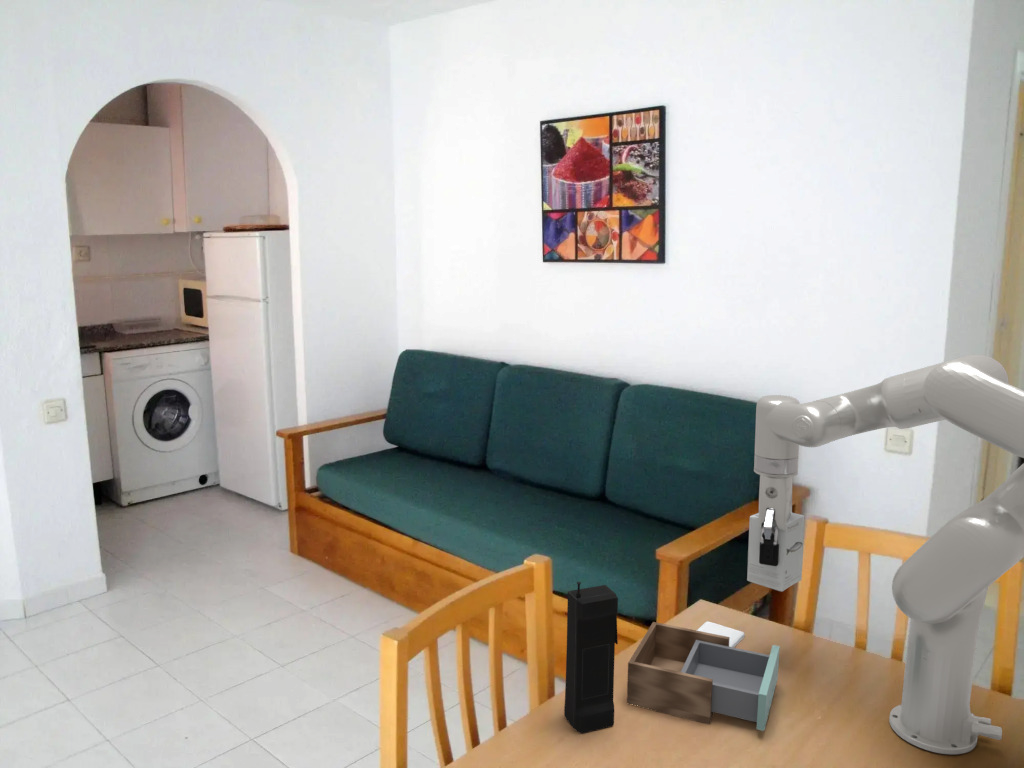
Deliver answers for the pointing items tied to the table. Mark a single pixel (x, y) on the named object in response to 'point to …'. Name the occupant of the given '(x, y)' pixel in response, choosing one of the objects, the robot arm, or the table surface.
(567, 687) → the portable radio
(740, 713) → the drawer
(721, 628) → the external hard drive
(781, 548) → the supplement box
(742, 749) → the table surface
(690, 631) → the box
